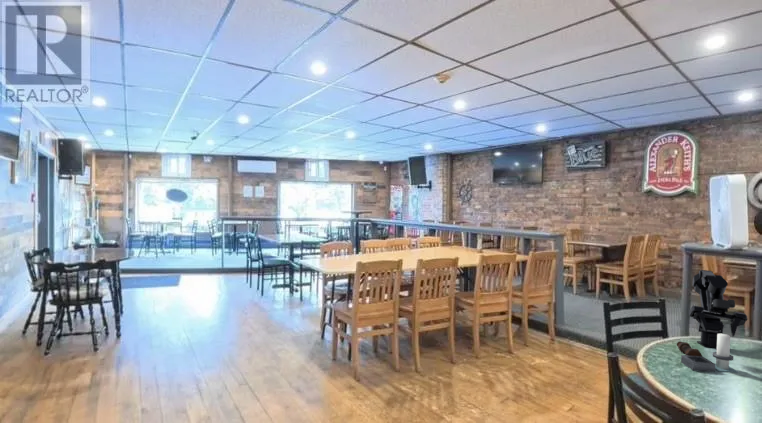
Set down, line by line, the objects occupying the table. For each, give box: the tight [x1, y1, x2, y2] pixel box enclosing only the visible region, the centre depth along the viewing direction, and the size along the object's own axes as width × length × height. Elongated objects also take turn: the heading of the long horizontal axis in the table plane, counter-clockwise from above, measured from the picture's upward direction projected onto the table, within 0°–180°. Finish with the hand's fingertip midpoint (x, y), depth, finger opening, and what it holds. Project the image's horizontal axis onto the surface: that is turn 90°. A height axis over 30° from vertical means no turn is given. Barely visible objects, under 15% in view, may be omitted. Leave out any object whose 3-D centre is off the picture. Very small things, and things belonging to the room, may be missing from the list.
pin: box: [712, 333, 734, 369], centre depth 166 cm, size 6×6×13 cm
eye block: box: [680, 354, 716, 373], centre depth 167 cm, size 8×8×3 cm
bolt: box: [676, 340, 703, 356], centre depth 180 cm, size 6×5×15 cm
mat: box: [714, 363, 739, 373], centre depth 166 cm, size 7×7×1 cm
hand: (719, 333), depth 173 cm, fingers open, 9 cm apart
